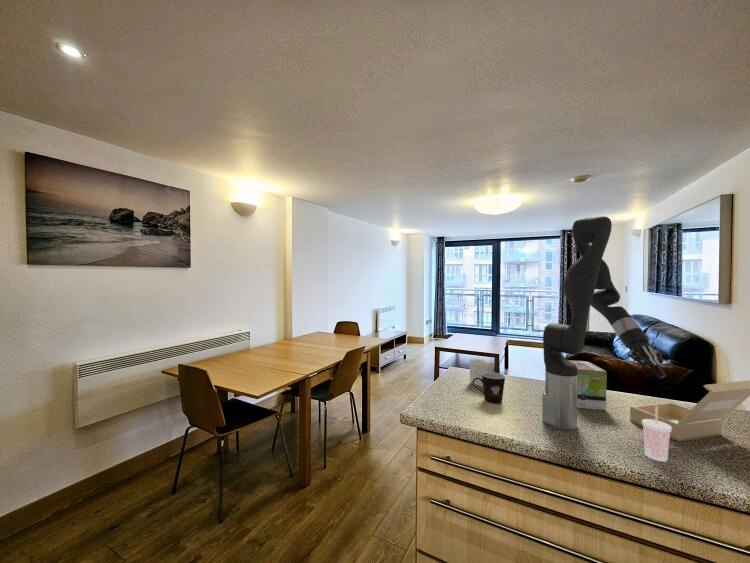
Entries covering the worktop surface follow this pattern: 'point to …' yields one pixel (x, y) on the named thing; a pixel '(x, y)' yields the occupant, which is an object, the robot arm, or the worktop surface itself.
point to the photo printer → (479, 369)
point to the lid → (718, 401)
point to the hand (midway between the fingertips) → (662, 377)
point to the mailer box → (676, 421)
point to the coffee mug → (492, 386)
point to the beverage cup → (656, 438)
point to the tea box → (590, 386)
